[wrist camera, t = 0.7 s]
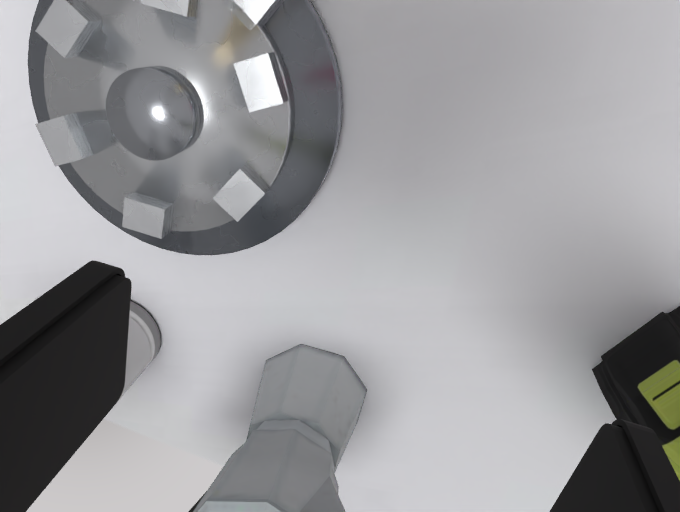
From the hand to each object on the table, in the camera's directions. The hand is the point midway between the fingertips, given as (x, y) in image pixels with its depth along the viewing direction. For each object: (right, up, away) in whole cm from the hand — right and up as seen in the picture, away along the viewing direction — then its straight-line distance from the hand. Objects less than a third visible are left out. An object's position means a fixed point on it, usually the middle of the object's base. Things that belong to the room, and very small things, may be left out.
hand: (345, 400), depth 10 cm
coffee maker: (-3, -8, +32) cm, 33 cm away
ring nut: (-9, +13, +22) cm, 27 cm away
